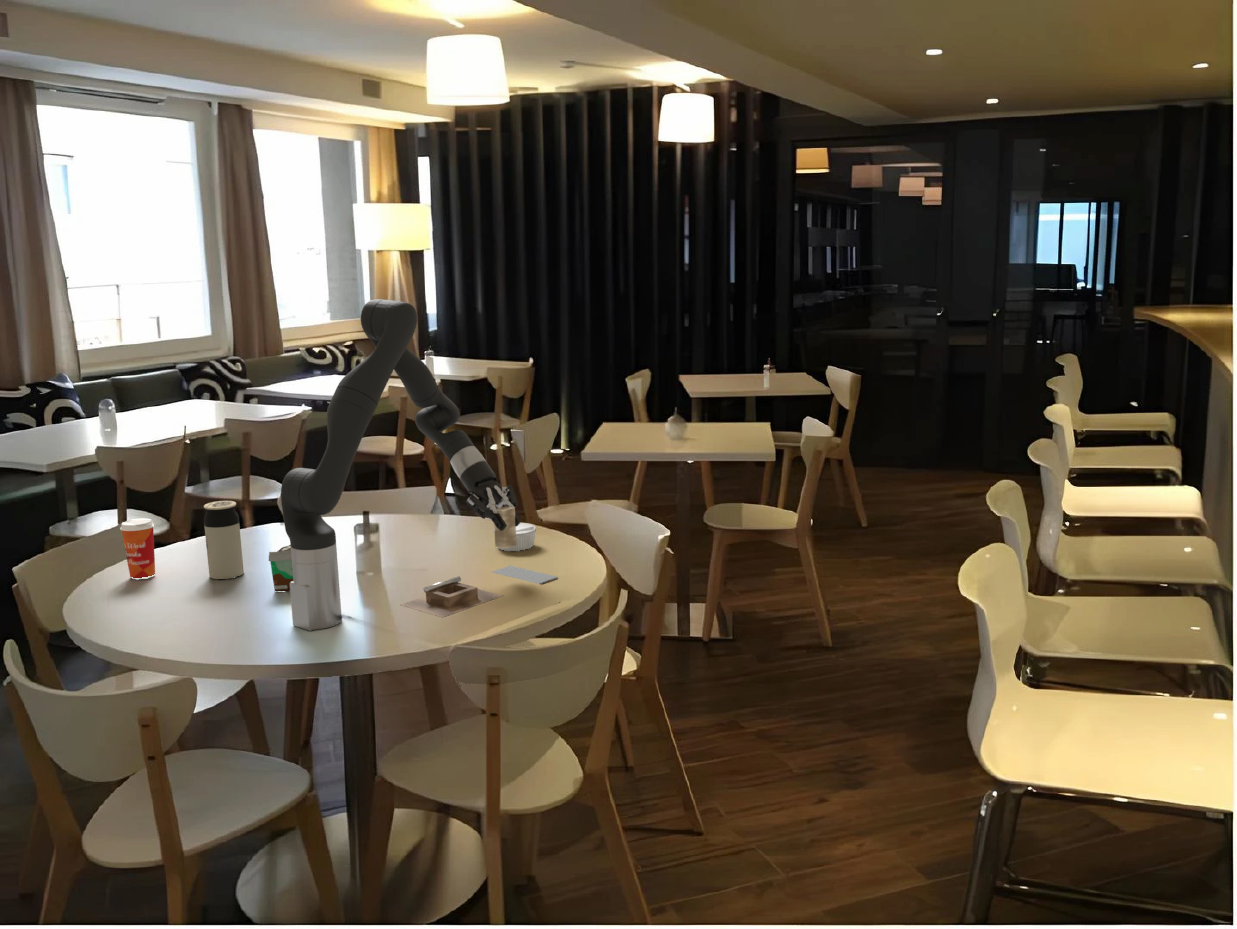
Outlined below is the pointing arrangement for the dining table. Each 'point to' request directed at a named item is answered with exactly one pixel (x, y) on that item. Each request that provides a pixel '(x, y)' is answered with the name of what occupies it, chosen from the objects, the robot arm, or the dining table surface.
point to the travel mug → (223, 540)
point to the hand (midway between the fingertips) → (510, 526)
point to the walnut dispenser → (450, 598)
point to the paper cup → (139, 547)
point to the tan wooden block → (509, 533)
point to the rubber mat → (525, 574)
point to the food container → (281, 568)
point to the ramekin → (523, 537)
